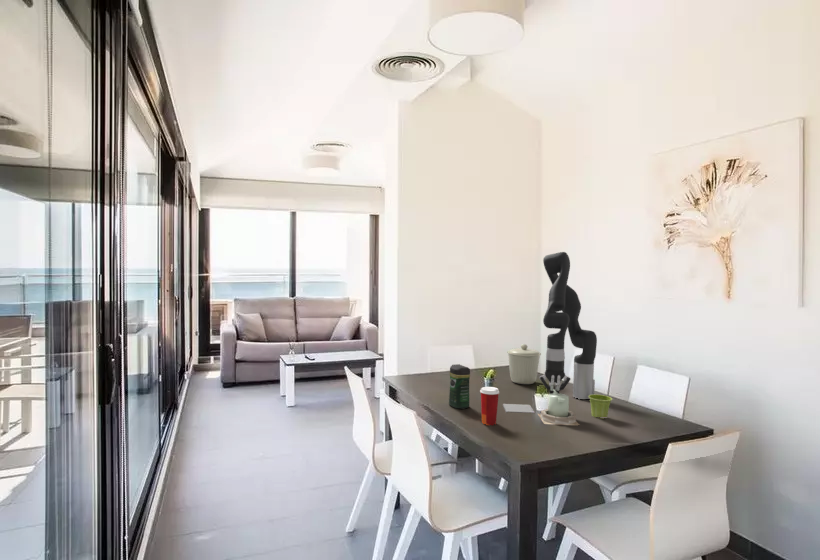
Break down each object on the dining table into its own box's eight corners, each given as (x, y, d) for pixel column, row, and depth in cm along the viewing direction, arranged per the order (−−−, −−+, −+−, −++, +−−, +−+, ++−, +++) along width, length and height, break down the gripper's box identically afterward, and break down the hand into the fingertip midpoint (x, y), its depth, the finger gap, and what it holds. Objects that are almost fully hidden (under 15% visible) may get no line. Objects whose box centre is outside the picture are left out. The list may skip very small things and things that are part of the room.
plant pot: (613, 417, 213) (614, 396, 213) (608, 422, 205) (609, 401, 205) (591, 413, 218) (591, 393, 218) (585, 418, 210) (585, 397, 210)
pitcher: (571, 421, 201) (572, 399, 200) (551, 421, 201) (552, 399, 201) (561, 410, 216) (562, 389, 216) (543, 409, 217) (543, 389, 216)
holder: (570, 416, 212) (571, 409, 212) (579, 426, 198) (580, 419, 198) (537, 415, 213) (537, 407, 213) (544, 425, 199) (544, 417, 199)
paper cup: (501, 422, 202) (502, 388, 201) (494, 427, 195) (495, 392, 195) (483, 419, 206) (484, 385, 205) (475, 424, 199) (476, 389, 199)
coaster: (529, 406, 226) (529, 404, 226) (534, 414, 214) (534, 412, 214) (502, 405, 227) (502, 403, 227) (506, 413, 215) (506, 411, 215)
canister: (511, 377, 286) (512, 340, 285) (543, 381, 278) (544, 343, 277) (502, 383, 270) (503, 344, 269) (536, 388, 262) (537, 348, 261)
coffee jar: (472, 408, 221) (473, 366, 221) (456, 410, 218) (457, 367, 218) (461, 402, 230) (462, 362, 230) (446, 404, 227) (447, 363, 226)
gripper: (568, 357, 216) (567, 397, 217) (537, 356, 217) (536, 396, 218) (573, 360, 209) (572, 402, 209) (541, 359, 210) (540, 400, 210)
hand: (554, 398), depth 214 cm, fingers closed
